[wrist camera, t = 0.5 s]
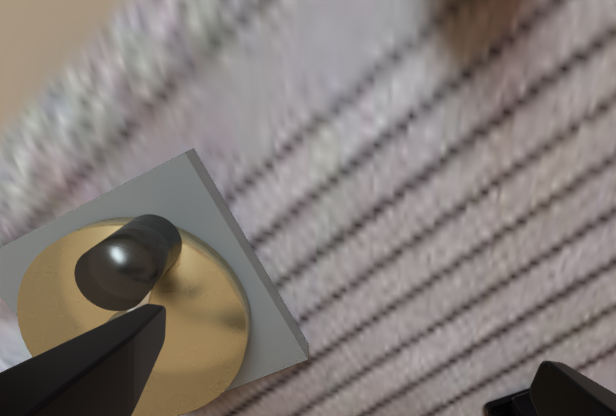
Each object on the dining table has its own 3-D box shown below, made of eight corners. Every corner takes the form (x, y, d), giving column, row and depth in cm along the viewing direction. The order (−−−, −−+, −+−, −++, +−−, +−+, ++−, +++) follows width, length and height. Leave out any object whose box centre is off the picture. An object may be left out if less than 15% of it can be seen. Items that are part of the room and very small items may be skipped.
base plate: (308, 343, 24) (308, 359, 23) (129, 414, 26) (119, 433, 25) (193, 148, 20) (184, 152, 18) (-8, 252, 22) (-30, 262, 21)
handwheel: (287, 356, 22) (279, 437, 17) (120, 423, 24) (67, 514, 19) (176, 178, 19) (124, 210, 13) (-10, 272, 20) (-120, 333, 15)
